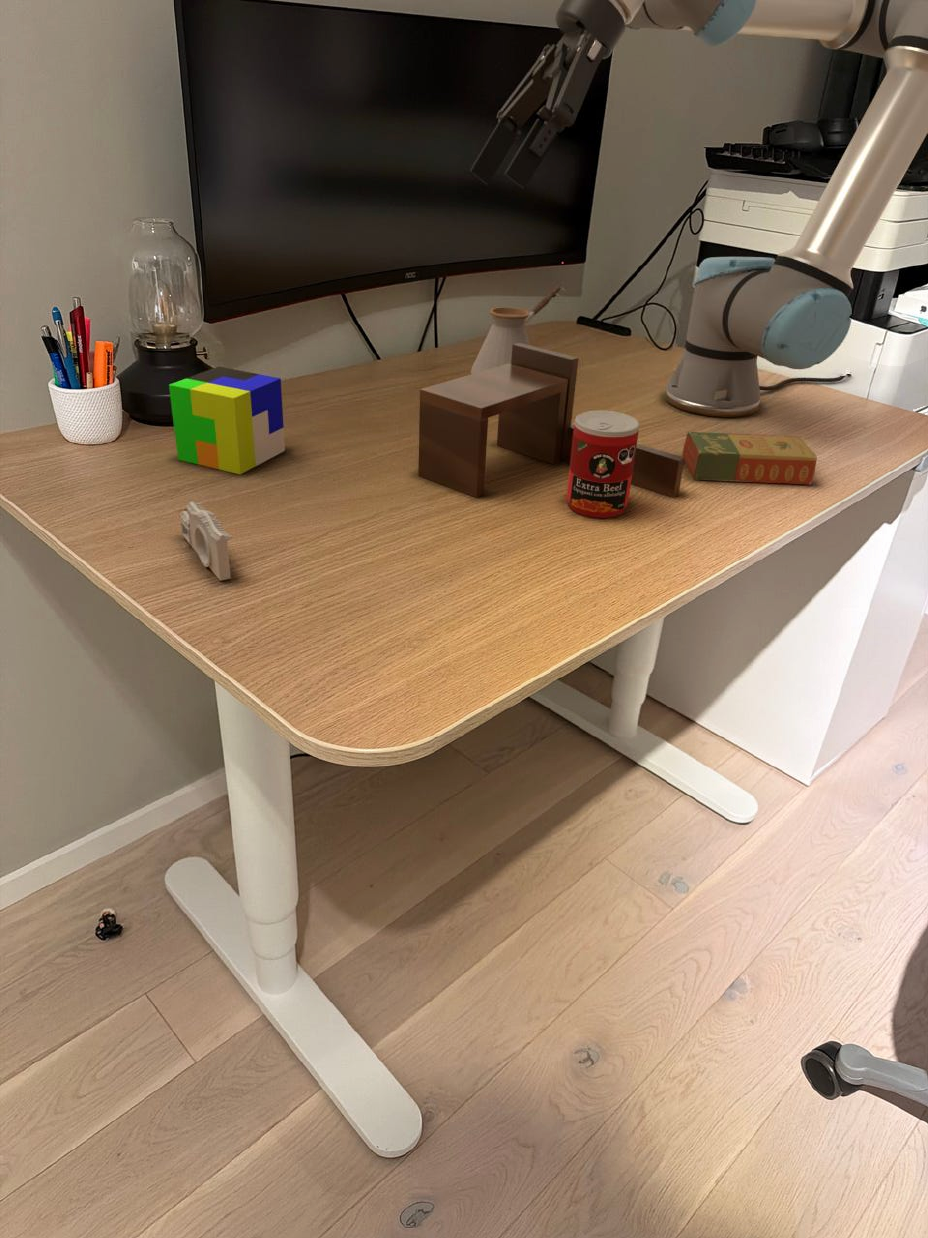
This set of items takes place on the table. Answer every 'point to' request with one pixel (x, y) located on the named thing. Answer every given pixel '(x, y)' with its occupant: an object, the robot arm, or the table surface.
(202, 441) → the puzzle toy
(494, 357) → the coffee pot
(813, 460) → the carton
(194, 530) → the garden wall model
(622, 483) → the canned food
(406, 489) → the table surface
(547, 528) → the table surface
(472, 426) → the step shelf
